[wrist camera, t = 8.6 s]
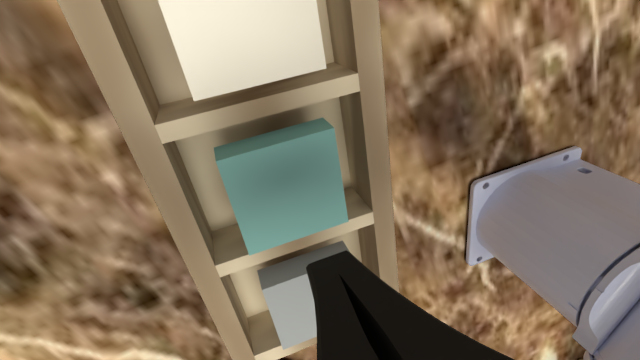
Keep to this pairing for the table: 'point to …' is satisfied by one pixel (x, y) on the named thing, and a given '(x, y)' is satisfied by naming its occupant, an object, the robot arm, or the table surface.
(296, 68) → the ivory key
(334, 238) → the key box
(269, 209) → the teal key
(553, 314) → the table surface
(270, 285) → the slate key
